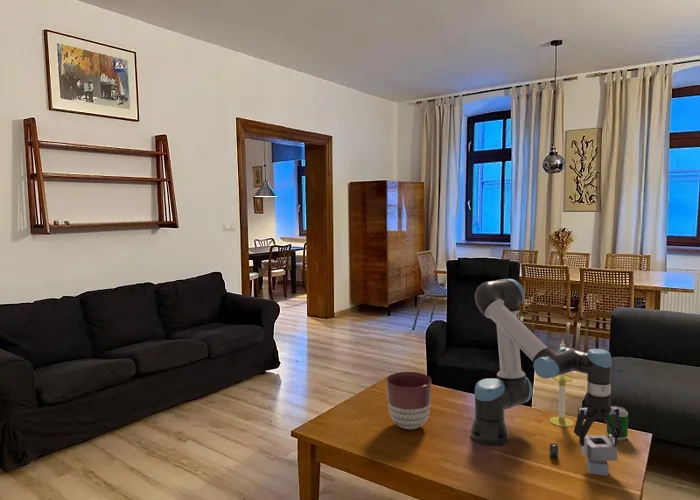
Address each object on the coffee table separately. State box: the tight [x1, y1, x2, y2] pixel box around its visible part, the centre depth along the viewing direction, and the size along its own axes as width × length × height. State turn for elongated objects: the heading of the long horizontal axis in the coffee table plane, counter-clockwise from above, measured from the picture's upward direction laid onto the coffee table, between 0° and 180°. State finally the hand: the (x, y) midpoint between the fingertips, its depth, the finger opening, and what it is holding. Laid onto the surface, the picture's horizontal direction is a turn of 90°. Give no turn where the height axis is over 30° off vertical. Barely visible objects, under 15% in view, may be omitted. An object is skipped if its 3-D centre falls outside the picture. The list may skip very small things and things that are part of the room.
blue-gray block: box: [586, 456, 609, 477], centre depth 174 cm, size 6×6×9 cm
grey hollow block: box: [579, 434, 618, 462], centre depth 173 cm, size 9×9×5 cm
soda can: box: [606, 405, 629, 441], centre depth 198 cm, size 8×8×12 cm
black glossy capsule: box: [549, 442, 559, 460], centre depth 184 cm, size 3×3×4 cm
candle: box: [549, 339, 575, 428], centre depth 211 cm, size 10×10×38 cm
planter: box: [386, 371, 432, 430], centre depth 212 cm, size 20×20×21 cm
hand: (597, 453), depth 174 cm, fingers closed on grey hollow block, 9 cm apart
